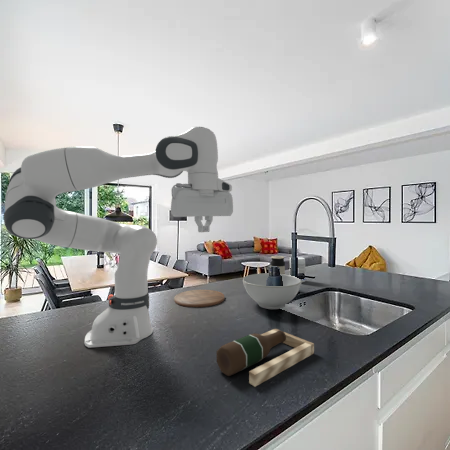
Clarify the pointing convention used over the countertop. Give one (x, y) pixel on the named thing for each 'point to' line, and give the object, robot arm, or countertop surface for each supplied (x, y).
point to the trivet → (199, 298)
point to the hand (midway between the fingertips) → (203, 232)
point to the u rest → (282, 359)
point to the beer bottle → (246, 351)
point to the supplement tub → (300, 266)
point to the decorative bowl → (271, 290)
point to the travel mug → (278, 263)
